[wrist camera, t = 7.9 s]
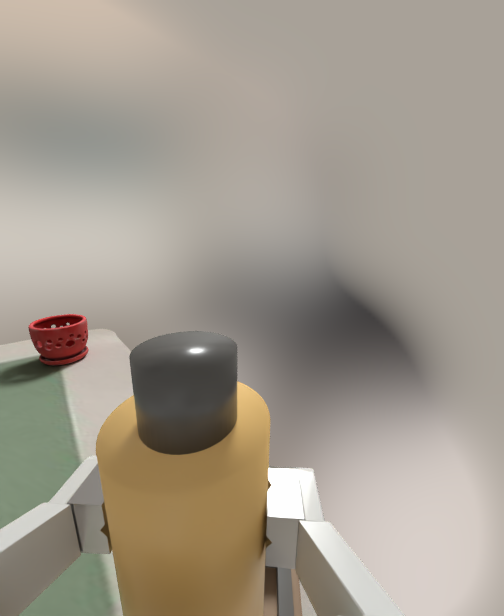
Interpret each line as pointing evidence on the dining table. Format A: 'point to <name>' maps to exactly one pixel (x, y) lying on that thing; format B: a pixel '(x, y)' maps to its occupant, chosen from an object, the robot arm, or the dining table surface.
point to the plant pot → (60, 338)
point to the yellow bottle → (187, 481)
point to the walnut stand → (281, 592)
